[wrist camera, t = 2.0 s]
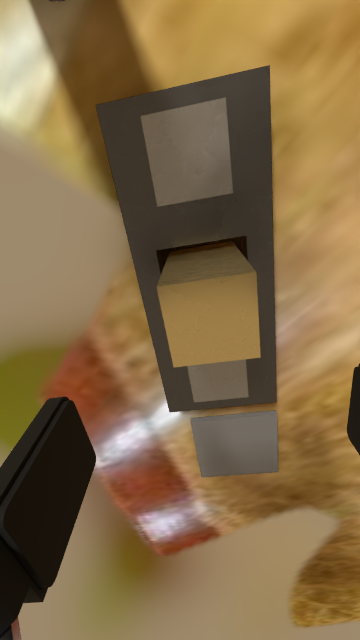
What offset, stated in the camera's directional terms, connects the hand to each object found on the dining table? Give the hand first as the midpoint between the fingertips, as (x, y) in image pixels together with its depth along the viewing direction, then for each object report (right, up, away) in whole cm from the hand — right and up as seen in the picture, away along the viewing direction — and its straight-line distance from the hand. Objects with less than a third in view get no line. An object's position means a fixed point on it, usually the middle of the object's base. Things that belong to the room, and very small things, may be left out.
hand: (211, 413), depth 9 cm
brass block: (+1, +7, +13) cm, 15 cm away
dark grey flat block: (+1, +7, +13) cm, 15 cm away
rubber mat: (+5, -11, +22) cm, 25 cm away
